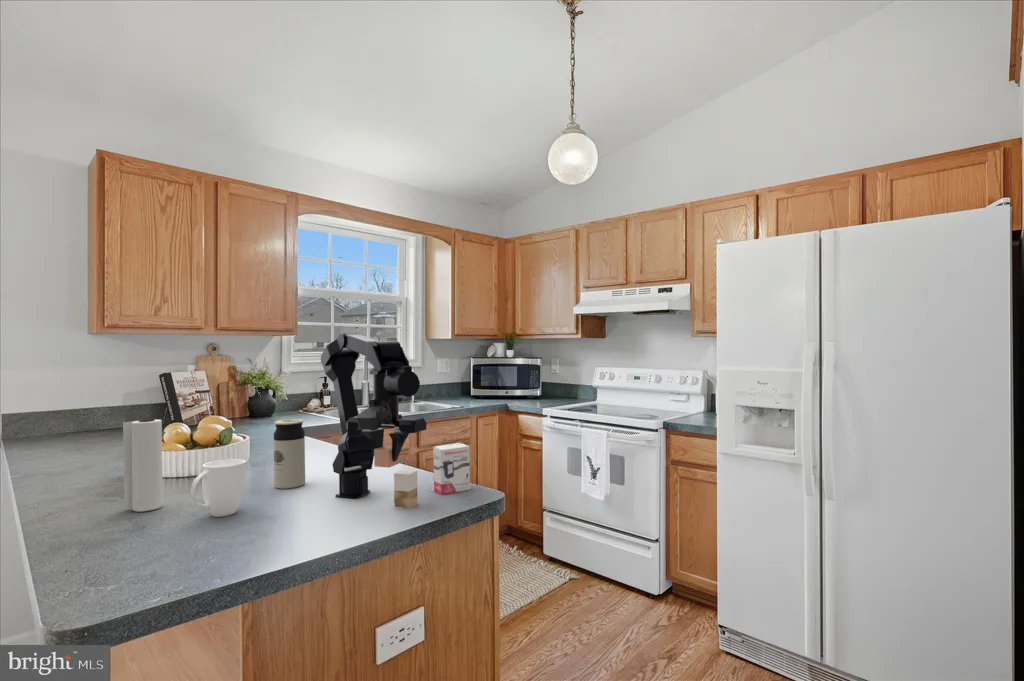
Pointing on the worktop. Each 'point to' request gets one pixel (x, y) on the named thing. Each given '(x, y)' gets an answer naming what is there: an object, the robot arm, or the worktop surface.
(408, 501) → the oak block
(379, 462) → the terracotta block
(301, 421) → the travel mug
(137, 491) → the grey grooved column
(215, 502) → the mug
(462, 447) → the ink box
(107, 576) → the worktop surface
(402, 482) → the cream block
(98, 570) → the worktop surface
